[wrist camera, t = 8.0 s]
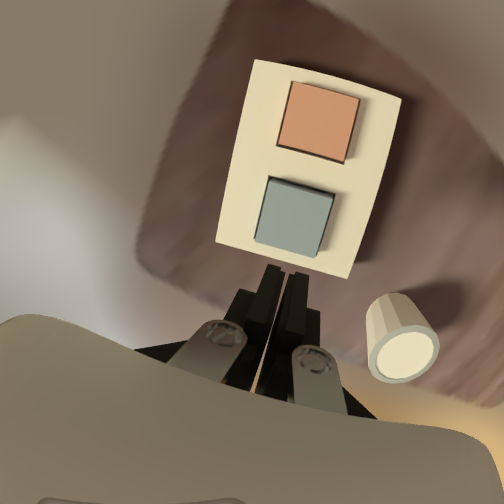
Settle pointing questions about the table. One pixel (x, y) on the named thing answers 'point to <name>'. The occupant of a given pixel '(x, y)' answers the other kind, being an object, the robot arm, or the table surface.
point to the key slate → (293, 217)
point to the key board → (306, 166)
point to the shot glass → (399, 339)
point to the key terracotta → (318, 121)
